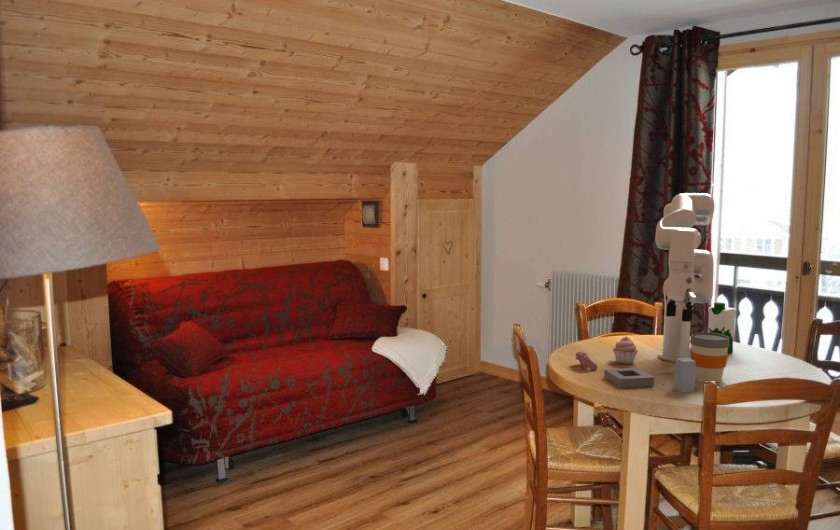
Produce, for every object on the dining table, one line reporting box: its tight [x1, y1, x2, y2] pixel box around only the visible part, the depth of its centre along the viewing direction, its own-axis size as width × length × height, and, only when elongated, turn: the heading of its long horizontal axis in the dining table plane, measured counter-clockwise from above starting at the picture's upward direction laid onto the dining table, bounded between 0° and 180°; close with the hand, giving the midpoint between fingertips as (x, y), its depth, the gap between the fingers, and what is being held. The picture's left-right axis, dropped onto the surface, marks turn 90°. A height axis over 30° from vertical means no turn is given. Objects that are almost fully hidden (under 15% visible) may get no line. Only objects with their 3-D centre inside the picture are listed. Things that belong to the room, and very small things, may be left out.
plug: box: [673, 358, 696, 393], centre depth 223 cm, size 4×4×10 cm
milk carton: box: [707, 302, 737, 354], centre depth 272 cm, size 9×9×20 cm
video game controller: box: [574, 350, 598, 371], centre depth 250 cm, size 10×5×7 cm, turn 5°
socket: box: [603, 367, 655, 389], centre depth 232 cm, size 12×12×3 cm
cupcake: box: [612, 336, 639, 365], centre depth 257 cm, size 9×9×10 cm
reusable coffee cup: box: [690, 331, 729, 383], centre depth 236 cm, size 13×13×15 cm
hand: (678, 318), depth 225 cm, fingers open, 9 cm apart
